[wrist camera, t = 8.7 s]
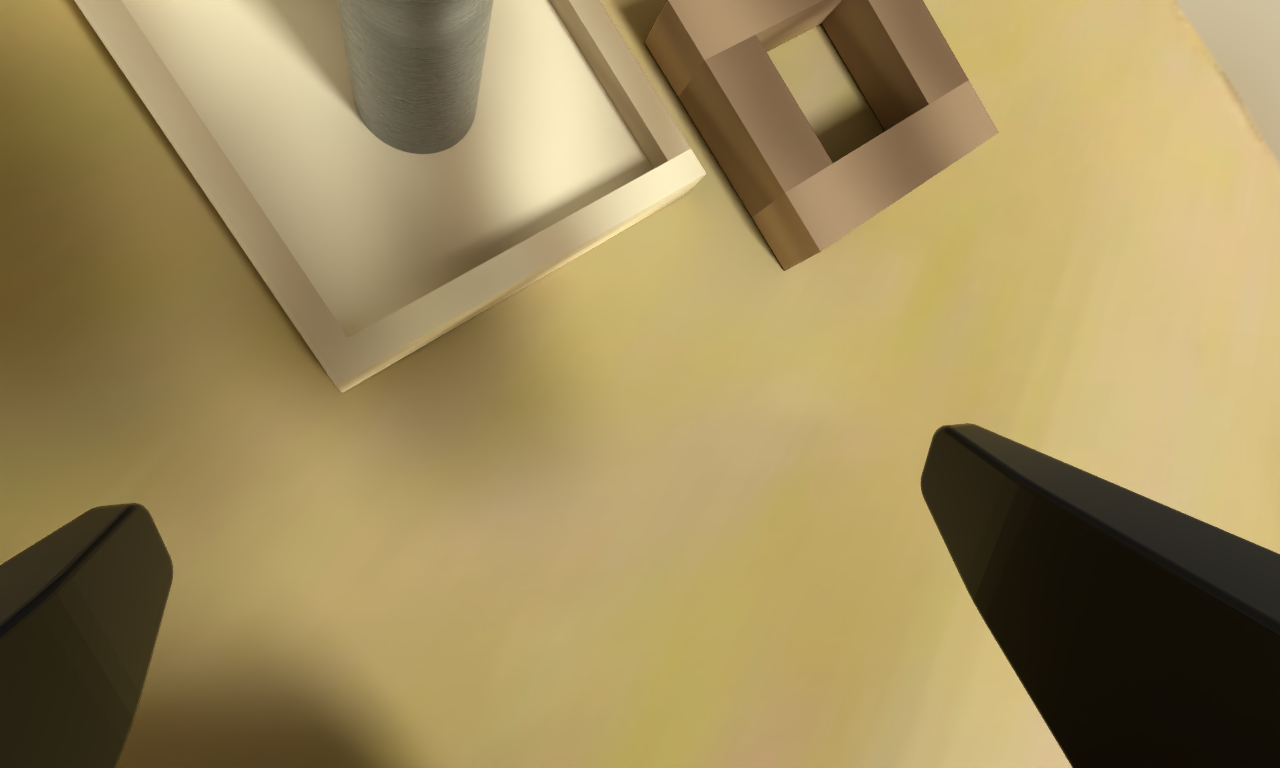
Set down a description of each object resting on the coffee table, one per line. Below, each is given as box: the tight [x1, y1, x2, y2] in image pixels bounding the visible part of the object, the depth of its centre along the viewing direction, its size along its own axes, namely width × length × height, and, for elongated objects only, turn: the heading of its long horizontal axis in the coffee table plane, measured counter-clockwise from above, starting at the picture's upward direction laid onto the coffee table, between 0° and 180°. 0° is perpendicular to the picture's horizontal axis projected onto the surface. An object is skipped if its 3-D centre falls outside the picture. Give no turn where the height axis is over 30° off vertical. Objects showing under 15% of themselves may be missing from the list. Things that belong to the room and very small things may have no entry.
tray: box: [74, 0, 706, 393], centre depth 17 cm, size 11×11×2 cm
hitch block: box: [645, 0, 999, 271], centre depth 21 cm, size 8×8×2 cm
